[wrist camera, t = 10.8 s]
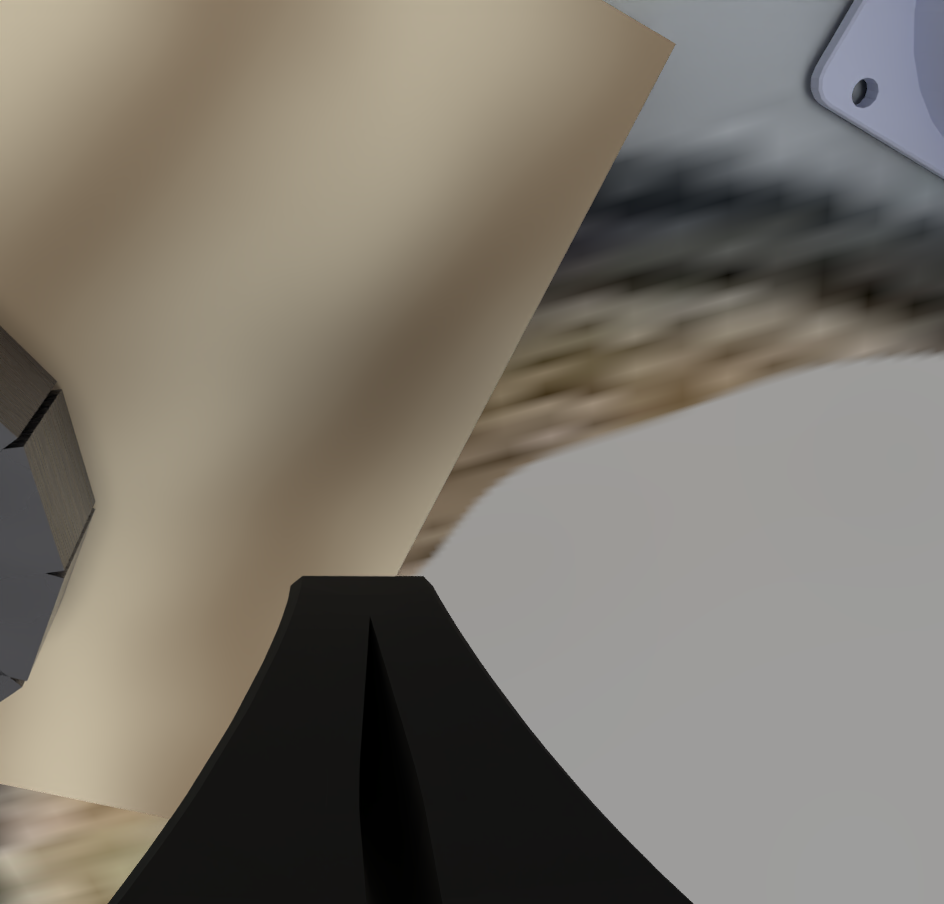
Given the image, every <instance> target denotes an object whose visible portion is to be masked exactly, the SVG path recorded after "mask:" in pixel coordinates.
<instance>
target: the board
mask: <svg viewBox="0 0 944 904" xmlns="http://www.w3.org/2000/svg"><path fill="white" fill-rule="evenodd" d="M674 46H675V43H673V42H671V41H670V40H668V39H666V38H665V37H663V36H661V35H660V34H658V33H656V32H655V31H653V30H651V29H650V28H648V27H646V26H645V25H643V24H641V23H639V22H638V21H636V20H634V19H633V18H631V17H629V16H628V15H626V14H624V13H623V12H621V11H619V10H618V9H616V8H614V7H613V6H611V5H609V4H608V3H606V2H604V1H602V0H0V326H1V327H2V328H3V329H4V330H5V331H6V332H7V333H8V334H9V335H10V336H12V337H13V338H14V339H15V340H16V341H17V342H18V343H19V344H20V345H21V346H22V347H23V348H24V349H25V350H26V351H27V352H28V353H29V354H30V355H31V356H32V357H33V358H34V359H35V360H36V361H37V362H38V363H39V364H40V365H41V366H42V367H43V368H44V369H45V370H46V371H47V372H48V373H49V374H50V375H51V376H52V377H53V378H54V379H55V380H56V381H57V382H56V384H55V385H54V387H53V388H52V389H51V390H58V389H62V391H63V394H64V397H65V401H66V404H67V407H68V411H69V414H70V418H71V421H72V424H73V428H74V431H75V434H76V438H77V441H78V444H79V448H80V451H81V454H82V458H83V461H84V465H85V468H86V471H87V475H88V478H89V481H90V485H91V488H92V491H93V495H94V498H95V501H96V502H95V504H94V506H93V508H94V509H95V511H94V514H93V517H92V519H91V522H90V525H89V528H88V530H87V533H86V536H85V539H84V541H83V544H82V547H81V550H80V552H79V555H78V558H77V561H76V563H75V566H74V569H73V572H72V574H71V577H70V580H69V583H68V585H67V588H66V591H65V594H64V596H63V599H62V602H61V604H60V607H59V609H58V611H57V614H56V616H55V618H54V620H53V623H52V625H51V627H50V630H49V632H48V634H47V637H46V639H45V641H44V644H43V646H42V648H41V650H40V653H39V655H38V657H37V660H36V662H35V664H34V667H33V669H32V671H31V673H30V676H29V678H28V680H27V681H25V682H24V684H23V687H22V688H20V689H19V690H17V691H16V692H14V693H13V694H12V695H10V696H9V697H7V698H6V699H4V700H3V701H1V702H0V784H4V785H9V786H14V787H19V788H23V789H28V790H33V791H38V792H43V793H48V794H53V795H57V796H62V797H67V798H72V799H77V800H82V801H87V802H91V803H96V804H101V805H106V806H111V807H116V808H120V809H125V810H130V811H135V812H140V813H145V814H150V815H154V816H159V817H164V818H169V819H170V818H171V817H172V815H173V814H174V812H175V811H176V809H177V808H178V806H179V805H180V804H181V802H182V801H183V799H184V798H185V796H186V795H187V793H188V791H189V790H190V788H191V787H192V785H193V783H194V782H195V780H196V779H197V777H198V775H199V774H200V772H201V770H202V769H203V767H204V766H205V764H206V762H207V761H208V759H209V758H210V756H211V754H212V753H213V751H214V750H215V748H216V746H217V745H218V743H219V742H220V740H221V738H222V737H223V735H224V734H225V732H226V730H227V728H228V727H229V725H230V723H231V722H232V720H233V718H234V716H235V715H236V713H237V711H238V709H239V707H240V705H241V703H242V701H243V699H244V697H245V695H246V694H247V692H248V690H249V688H250V686H251V684H252V682H253V680H254V678H255V676H256V675H257V673H258V671H259V669H260V667H261V665H262V663H263V661H264V659H265V656H266V654H267V652H268V650H269V648H270V645H271V643H272V641H273V639H274V636H275V634H276V632H277V629H278V627H279V624H280V622H281V619H282V616H283V613H284V610H285V607H286V604H287V601H288V597H289V591H290V586H291V585H292V584H293V583H294V582H295V581H297V580H298V579H299V578H300V577H302V576H396V575H397V573H398V571H399V569H400V567H401V566H402V564H403V562H404V560H405V558H406V556H407V554H408V552H409V550H410V548H411V547H412V545H413V543H414V541H415V539H416V537H417V535H418V533H419V531H420V529H421V528H422V526H423V524H424V522H425V520H426V518H427V516H428V514H429V512H430V510H431V508H432V507H433V505H434V503H435V501H436V499H437V497H438V495H439V493H440V491H441V489H442V488H443V486H444V484H445V482H446V480H447V478H448V476H449V474H450V472H451V470H452V469H453V467H454V465H455V463H456V461H457V459H458V457H459V455H460V453H461V451H462V450H463V448H464V446H465V444H466V442H467V440H468V438H469V436H470V434H471V432H472V431H473V429H474V427H475V425H476V423H477V421H478V419H479V417H480V415H481V413H482V411H483V410H484V408H485V406H486V404H487V402H488V400H489V398H490V396H491V394H492V392H493V391H494V389H495V387H496V385H497V383H498V381H499V379H500V377H501V375H502V373H503V372H504V370H505V368H506V366H507V364H508V362H509V360H510V358H511V356H512V354H513V353H514V351H515V349H516V347H517V345H518V343H519V341H520V339H521V337H522V335H523V334H524V332H525V330H526V328H527V326H528V324H529V322H530V320H531V318H532V316H533V314H534V313H535V311H536V309H537V307H538V305H539V303H540V301H541V299H542V297H543V295H544V294H545V292H546V290H547V288H548V286H549V284H550V282H551V280H552V278H553V276H554V275H555V273H556V271H557V269H558V267H559V265H560V263H561V261H562V259H563V257H564V256H565V254H566V252H567V250H568V248H569V246H570V244H571V242H572V240H573V238H574V237H575V235H576V233H577V231H578V229H579V227H580V225H581V223H582V221H583V219H584V217H585V216H586V214H587V212H588V210H589V208H590V206H591V204H592V202H593V200H594V198H595V197H596V195H597V193H598V191H599V189H600V187H601V185H602V183H603V181H604V179H605V178H606V176H607V174H608V172H609V170H610V168H611V166H612V164H613V162H614V160H615V159H616V157H617V155H618V153H619V151H620V149H621V147H622V145H623V143H624V141H625V139H626V138H627V136H628V134H629V132H630V130H631V128H632V126H633V124H634V122H635V120H636V119H637V117H638V115H639V113H640V111H641V109H642V107H643V105H644V103H645V101H646V100H647V98H648V96H649V94H650V92H651V90H652V88H653V86H654V84H655V82H656V81H657V79H658V77H659V75H660V73H661V71H662V69H663V67H664V65H665V63H666V62H667V60H668V58H669V56H670V54H671V52H672V50H673V48H674Z"/></svg>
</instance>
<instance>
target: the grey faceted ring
mask: <svg viewBox="0 0 944 904" xmlns="http://www.w3.org/2000/svg"><path fill="white" fill-rule="evenodd" d="M56 382H57V381H56V380H55V379H54V378H53V377H52V376H51V375H50V374H49V373H48V372H47V371H46V370H45V369H44V368H43V367H42V366H41V365H40V364H39V363H38V362H37V361H36V360H35V359H34V358H33V357H32V356H31V355H30V354H29V353H28V352H27V351H26V350H25V349H24V348H23V347H22V346H21V345H20V344H19V343H18V342H17V341H16V340H15V339H14V338H13V337H12V336H10V335H9V334H8V333H7V332H6V331H5V330H4V329H3V328H2V327H1V326H0V702H1V701H3V700H4V699H6V698H7V697H9V696H10V695H12V694H13V693H14V692H16V691H17V690H19V689H20V688H22V687H23V684H24V682H25V681H27V680H28V678H29V676H30V673H31V671H32V669H33V667H34V664H35V662H36V660H37V657H38V655H39V653H40V650H41V648H42V646H43V644H44V641H45V639H46V637H47V634H48V632H49V630H50V627H51V625H52V623H53V620H54V618H55V616H56V614H57V611H58V609H59V607H60V604H61V602H62V599H63V596H64V594H65V591H66V588H67V585H68V583H69V580H70V577H71V574H72V572H73V569H74V566H75V563H76V561H77V558H78V555H79V552H80V550H81V547H82V544H83V541H84V539H85V536H86V533H87V530H88V528H89V525H90V522H91V519H92V517H93V514H94V511H95V509H94V508H93V506H94V504H95V502H96V501H95V498H94V495H93V491H92V488H91V485H90V481H89V478H88V475H87V471H86V468H85V465H84V461H83V458H82V454H81V451H80V448H79V444H78V441H77V438H76V434H75V431H74V428H73V424H72V421H71V418H70V414H69V411H68V407H67V404H66V401H65V397H64V394H63V391H62V389H58V390H51V389H52V388H53V387H54V385H55V384H56Z"/></svg>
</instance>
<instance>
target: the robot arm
mask: <svg viewBox="0 0 944 904" xmlns="http://www.w3.org/2000/svg"><path fill="white" fill-rule="evenodd" d="M862 79H864V80H865V81H866V83H867V92H866V95H865V98H864V99H863V100H862V101H861V102H860V103H859V104H857V105H855V104H854V103H853V102H852V92H853V89H854V86H855V85H856V84H857V83H858V82H859V81H860V80H862ZM811 91H812V94H813V97H814V99H815V100H816V101H817V102H818V103H819V104H820V105H822V106H824V107H825V108H827V109H829V110H830V111H832V112H834V113H835V114H837V115H838V116H840V117H842V118H843V119H845V120H847V121H848V122H850V123H852V124H853V125H855V126H857V127H858V128H860V129H862V130H863V131H865V132H867V133H868V134H870V135H871V136H873V137H875V138H876V139H878V140H880V141H881V142H883V143H885V144H886V145H888V146H890V147H891V148H893V149H895V150H896V151H898V152H899V153H901V154H903V155H904V156H906V157H908V158H909V159H911V160H913V161H914V162H916V163H918V164H919V165H921V166H923V167H924V168H926V169H927V170H929V171H931V172H932V173H934V174H936V175H937V176H939V177H941V178H942V179H944V0H854V2H853V3H852V5H851V7H850V9H849V10H848V12H847V14H846V15H845V17H844V19H843V20H842V22H841V24H840V26H839V27H838V29H837V31H836V32H835V34H834V36H833V38H832V39H831V41H830V43H829V44H828V46H827V48H826V49H825V51H824V53H823V55H822V56H821V58H820V60H819V61H818V63H817V65H816V67H815V69H814V72H813V74H812V77H811ZM108 904H693V903H692V902H691V901H690V900H689V899H688V898H687V897H686V896H685V895H684V894H683V893H681V892H680V891H679V890H678V889H677V888H676V887H675V886H674V885H673V884H672V883H671V882H670V881H669V880H668V879H667V878H665V877H664V876H663V875H662V874H661V873H660V872H659V871H658V870H657V869H656V868H655V867H654V866H653V865H652V864H651V863H650V862H649V861H648V860H647V859H646V858H645V857H644V856H643V855H642V854H641V853H640V852H639V851H638V850H637V849H636V848H635V847H634V846H633V845H632V844H631V843H630V842H629V841H628V840H627V839H626V838H625V837H624V836H623V835H622V834H621V833H620V832H619V831H618V829H616V827H615V826H614V825H613V824H612V823H611V822H610V821H609V820H608V819H607V818H606V817H605V816H604V815H603V814H602V812H601V811H600V810H599V809H598V808H597V807H596V806H595V805H594V804H593V803H592V801H591V800H590V799H589V798H588V797H587V796H586V795H585V794H584V793H583V791H581V789H580V788H579V787H578V786H577V785H576V784H575V782H574V781H573V780H572V779H571V778H570V776H569V775H568V774H567V773H566V772H565V771H564V769H563V768H562V767H561V766H560V765H559V763H558V762H557V761H556V760H555V759H554V758H553V756H552V755H551V754H550V753H549V752H548V751H547V749H545V747H544V746H543V744H542V743H541V742H540V741H539V739H538V738H537V737H536V736H535V735H534V733H533V732H532V731H531V730H530V728H529V727H528V726H527V724H526V723H525V722H524V720H523V719H522V718H521V717H520V715H519V714H518V713H517V711H516V710H515V709H514V707H513V706H512V704H511V703H510V702H509V701H508V699H507V698H506V696H505V695H504V694H503V693H502V691H501V690H500V689H499V687H498V686H497V685H496V683H495V682H494V681H493V679H492V678H491V676H490V675H489V674H488V672H487V671H486V669H485V668H484V666H483V665H482V664H481V662H480V661H479V659H478V658H477V656H476V655H475V653H474V652H473V650H472V649H471V647H470V646H469V644H468V643H467V641H466V640H465V638H464V637H463V636H462V634H461V633H460V631H459V629H458V628H457V626H456V624H455V623H454V621H453V620H452V618H451V616H450V615H449V613H448V611H447V610H446V608H445V607H444V605H443V603H442V602H441V600H440V598H439V596H438V595H437V593H436V591H435V590H434V587H433V586H432V585H431V584H430V583H429V582H428V581H427V580H426V579H425V578H424V577H423V576H302V577H300V578H299V579H298V580H297V581H295V582H294V583H293V584H292V585H291V586H290V591H289V597H288V601H287V604H286V607H285V610H284V613H283V616H282V619H281V622H280V624H279V627H278V629H277V632H276V634H275V636H274V639H273V641H272V643H271V645H270V648H269V650H268V652H267V654H266V656H265V659H264V661H263V663H262V665H261V667H260V669H259V671H258V673H257V675H256V676H255V678H254V680H253V682H252V684H251V686H250V688H249V690H248V692H247V694H246V695H245V697H244V699H243V701H242V703H241V705H240V707H239V709H238V711H237V713H236V715H235V716H234V718H233V720H232V722H231V723H230V725H229V727H228V728H227V730H226V732H225V734H224V735H223V737H222V738H221V740H220V742H219V743H218V745H217V746H216V748H215V750H214V751H213V753H212V754H211V756H210V758H209V759H208V761H207V762H206V764H205V766H204V767H203V769H202V770H201V772H200V774H199V775H198V777H197V779H196V780H195V782H194V783H193V785H192V787H191V788H190V790H189V791H188V793H187V795H186V796H185V798H184V799H183V801H182V802H181V804H180V805H179V806H178V808H177V809H176V811H175V812H174V814H173V815H172V817H171V818H170V820H169V821H168V822H167V824H166V825H165V827H164V828H163V830H162V831H161V833H160V834H159V835H158V837H157V838H156V840H155V841H154V842H153V844H152V845H151V847H150V848H149V849H148V851H147V852H146V854H145V855H144V856H143V858H142V859H141V860H140V862H139V863H138V864H137V866H136V867H135V868H134V870H133V871H132V872H131V874H130V875H129V876H128V878H127V879H126V880H125V882H124V883H123V884H122V886H121V887H120V888H119V890H118V891H117V892H116V894H115V895H114V896H113V898H112V899H111V900H110V901H109V903H108Z"/></svg>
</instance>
